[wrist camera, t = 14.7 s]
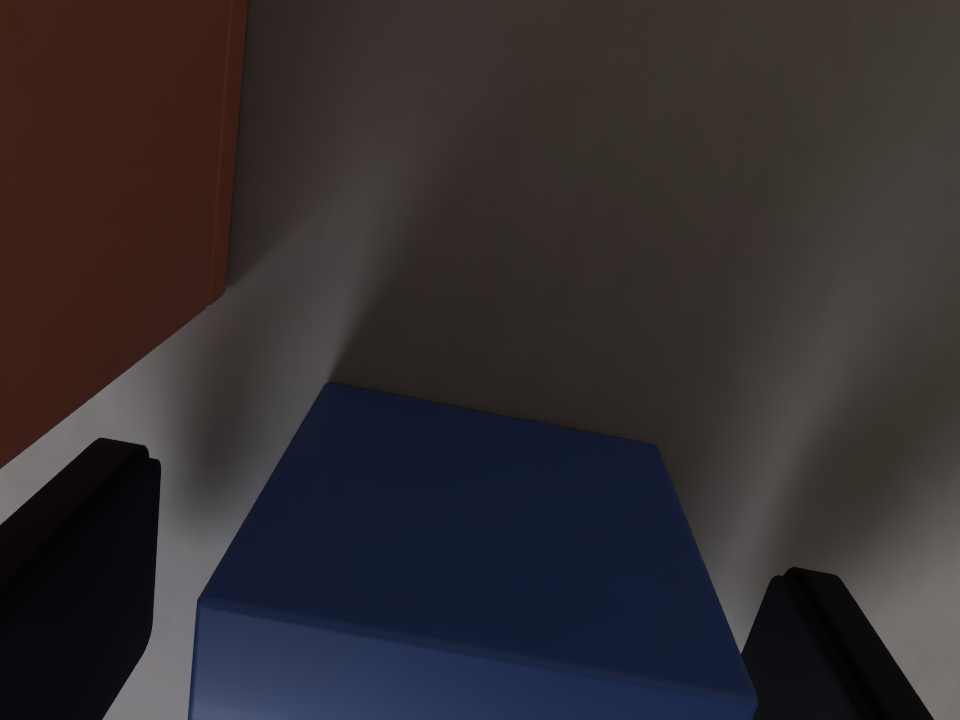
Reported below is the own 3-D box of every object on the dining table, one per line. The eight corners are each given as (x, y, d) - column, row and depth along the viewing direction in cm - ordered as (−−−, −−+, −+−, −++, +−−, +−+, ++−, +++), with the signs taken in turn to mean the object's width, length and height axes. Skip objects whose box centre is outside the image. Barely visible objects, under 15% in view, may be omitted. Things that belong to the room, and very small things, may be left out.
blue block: (658, 443, 10) (764, 701, 6) (578, 701, 12) (618, 1049, 8) (324, 379, 10) (194, 599, 6) (288, 649, 12) (165, 976, 8)
